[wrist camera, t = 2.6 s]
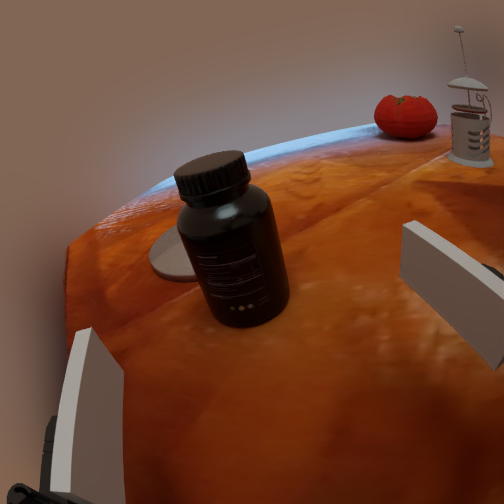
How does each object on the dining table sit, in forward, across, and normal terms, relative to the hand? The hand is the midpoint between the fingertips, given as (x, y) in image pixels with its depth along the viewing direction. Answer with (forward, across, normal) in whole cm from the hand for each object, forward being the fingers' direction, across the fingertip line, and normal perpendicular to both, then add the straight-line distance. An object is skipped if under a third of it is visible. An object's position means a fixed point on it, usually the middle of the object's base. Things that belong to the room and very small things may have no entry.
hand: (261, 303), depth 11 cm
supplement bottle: (+11, 0, -9) cm, 14 cm away
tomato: (+46, +48, -8) cm, 67 cm away
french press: (+25, +47, -8) cm, 54 cm away
